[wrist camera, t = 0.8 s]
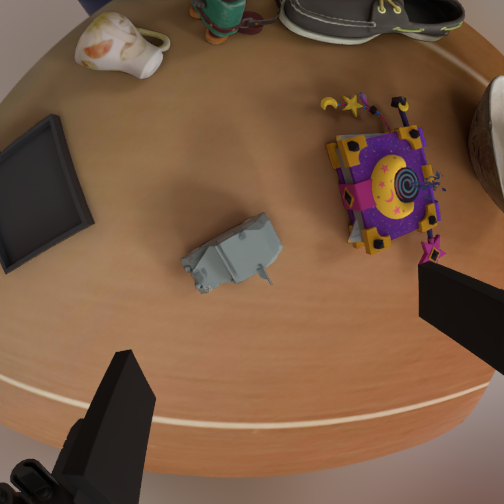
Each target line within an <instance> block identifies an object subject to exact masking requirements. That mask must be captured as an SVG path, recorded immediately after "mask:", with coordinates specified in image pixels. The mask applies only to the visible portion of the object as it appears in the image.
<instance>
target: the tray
mask: <svg viewBox="0 0 504 504" xmlns="http://www.w3.org/2000/svg"><path fill="white" fill-rule="evenodd" d="M93 224H94V220H93V218H92V215H91V213H90V210H89V208H88V205H87V203H86V200H85V197H84V194H83V192H82V189H81V186H80V183H79V180H78V177H77V175H76V172H75V168H74V165H73V162H72V159H71V156H70V153H69V149H68V146H67V143H66V139H65V136H64V132H63V128H62V125H61V121H60V117H59V116H57V115H55V114H50V115H49V116H47V117H46V118H45V119H43V120H42V121H40V122H39V123H37V124H36V125H35V126H33V127H32V128H31V129H29V130H28V131H27V132H25V133H24V134H23V135H21V136H20V137H19V138H17V139H16V140H15V141H14V142H12V143H11V144H10V145H9V146H8V147H6V148H5V149H4V150H3V151H2V152H0V263H1V265H2V268H3V270H4V272H5V274H7V273H9V272H11V271H13V270H15V269H16V268H18V267H19V266H21V265H22V264H24V263H26V262H27V261H29V260H31V259H32V258H34V257H36V256H37V255H39V254H41V253H42V252H44V251H46V250H47V249H49V248H51V247H53V246H54V245H56V244H58V243H60V242H61V241H63V240H65V239H67V238H69V237H70V236H72V235H74V234H76V233H78V232H80V231H81V230H83V229H85V228H87V227H89V226H91V225H93Z"/></svg>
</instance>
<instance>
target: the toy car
mask: <svg viewBox="0 0 504 504" xmlns="http://www.w3.org/2000/svg"><path fill="white" fill-rule="evenodd" d="M282 249H283V247H282V244H281V242H280V240H279V238H278V236H277V234H276V232H275V230H274V228H273V226H272V224H271V222H270V220H269V219H268V217H267V216H266V214H265V213H264V212H263V213H261V214H259V215H257V216H254V217H251V218H249V219H247V220H245V221H244V222H243V223H241V225H239V226H236V227H233V228H231V229H230V230H228V231H226V232H224V233H222V234H221V235H219V236H217V237H215V238H214V239H212V240H210V241H208V242H206V243H205V244H204V246H199V247H197V248H195V249H194V250H192V251H191V252H190V253H189V254H188V255H186V256H184V257H182V258H181V259H180V261H181V262H182V264H183V266H184V269H185V271H186V272H189V273H190V274H191V276H192V278H193V279H194V281H195V287H196V288H197V289H198V290H199V291H200V293H201V294H203V293H208V292H209V291H211V290H213V289H214V288H216V287H217V286H218V285H220V284H221V283H226V282H233V283H236V284H238V283H240V282H242V281H244V280H245V279H247V278H249V277H251V276H253V275H254V274H256V273H258V274H259V275H260V277H261V278H263V279H267V280H268V281H269V283H270V284H271V285H273V284H272V282H271V281H270V279H269V277H268V275H267V273H266V271H265V270H264V269H265V268H266V267H267V266H269V265H270V264H271V263H272V262H274V261H275V260H276V258H277V256H278V254H279V252H280V251H281V250H282Z"/></svg>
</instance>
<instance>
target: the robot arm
mask: <svg viewBox="0 0 504 504" xmlns="http://www.w3.org/2000/svg"><path fill="white" fill-rule="evenodd" d="M418 279H419V317H421V318H422V319H424V320H425V321H427V322H428V323H430V324H431V325H432V326H434V327H435V328H437V329H438V330H440V331H441V332H443V333H444V334H446V335H447V336H449V337H450V338H452V339H453V340H455V341H456V342H457V343H459V344H460V345H462V346H463V347H465V348H466V349H468V350H469V351H470V352H472V353H473V354H475V355H476V356H478V357H479V358H480V359H482V360H483V361H485V362H486V363H487V364H489V365H490V366H492V367H493V368H494V369H496V370H497V371H498V372H500V373H501V374H503V375H504V290H503V289H498V288H496V287H494V286H491V285H489V284H487V283H484V282H482V281H479V280H477V279H475V278H472V277H470V276H467V275H465V274H462V273H460V272H457V271H455V270H452V269H450V268H447V267H445V266H442V265H440V264H437V263H435V262H432V261H427V262H424V263H422V264H419V265H418ZM155 401H156V397H155V395H154V393H153V391H152V390H151V388H150V386H149V384H148V382H147V380H146V378H145V376H144V374H143V372H142V370H141V368H140V366H139V364H138V362H137V360H136V358H135V356H134V354H133V352H132V350H131V349H130V350H125V351H120V352H116V353H115V355H114V357H113V359H112V361H111V363H110V365H109V367H108V369H107V371H106V373H105V375H104V377H103V379H102V381H101V383H100V385H99V387H98V389H97V391H96V394H95V396H94V398H93V400H92V402H91V404H90V407H89V409H88V411H87V413H86V415H85V418H84V419H79V420H78V421H77V422H76V423H75V424H74V425H73V426H72V428H71V429H70V432H69V434H68V436H67V440H65V443H64V445H63V448H62V449H61V452H60V454H59V457H58V459H57V461H56V464H55V466H54V469H53V471H52V473H51V474H50V473H49V472H48V471H47V470H46V469H45V467H44V466H43V465H42V464H41V463H40V462H39V461H37V460H35V459H26V460H23V461H21V462H20V463H18V464H17V465H16V466H15V468H14V469H13V470H12V473H11V476H10V481H11V483H12V484H13V485H14V486H15V487H17V488H18V489H19V490H20V491H21V492H16V491H15V490H14V489H13V488H12V487H11V486H10V485H8V484H6V483H0V504H139V495H140V488H141V481H142V475H143V468H144V462H145V456H146V450H147V444H148V438H149V433H150V427H151V422H152V417H153V412H154V406H155Z"/></svg>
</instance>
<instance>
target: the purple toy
mask: <svg viewBox="0 0 504 504" xmlns="http://www.w3.org/2000/svg"><path fill="white" fill-rule="evenodd" d="M342 98H343V99H344V101H345V102H346V104H340V103H337V102H336V100H334V99H333V98H331V97H326V98H323V99H322V101H321V107H322V108H323V109H324V110H325V108H326V106H327V105H329V104H330V105H333V106H334V107H335V109H336V108H337V106H340V105H346V106H345V107H344V109H343V110H351V112H352V113H353V115H354V116H355V117H357V108H363V109H368V110H369V111H370V112H371V114H372V115H374V114H375V113H376V114H377V115H379V116H380V117H381V118H382V119H383V120H384V122H385V124H386V125H387V127H388V130H389V131H386V132H382V133H380V134H354V135H337V136H336V140H337V142H334V143H330V144H327V145H326V148H327V151H328V154H329V157H330V161H331V164H332V167H333V169H335V168H337V172H338V175H339V178H340V182H341V183H340V184H338V185H339V189H340V192H341V196H342V199H343V203H344V207H345V208H347V209H348V212H349V216H350V220H351V225H349V230H350V236H349V239H348V242H347V243H351V242H353V247H355V248H360V247H362V246H365V249H366V253H368V254H370V255H373V254H375V253H378V252H380V251H382V250H385V249H387V248H389V247H391V246H392V244H391V240H393V239H395V238H398V237H400V236H402V235H404V234H407V233H409V232H412V231H414V230H416V229H417V231H419V232H425V231H427V234H428V238H427V240H428V243H424V242H421V244H422V247H423V250H424V254H423V256H422V258H421V260H420V262H419V264H422V263H424V262H427V261H432V262H435V263H437V262H438V259H439V258H440V257H442V256H443V255H445V254H446V253H445V252H444V251H442V250H441V249H440V235H438V234H437V235H436V236H435V237H433V235H432V228H434V227H436V226H438V223H437V221H440V220H441V218H440V211H439V205H438V201H437V200H436V199H435V200H434V194H433V190H435V189H432V188H436V187H435V186H434V185H435V184H438V185H439V183H438V182H436V183H435V182H434V180H436V179H439V178H440V175H439V174H440V173H438V172H436V176H438V177H437V178H436V177H434V176H433V172H432V168H431V164H427V161H426V157H425V153H424V149H423V147H425V146H426V142H425V138H424V135H423V131H422V128H421V127H419V128H417V125H414V126H409V124H408V120H407V117H406V114H405V111H407V110H408V108H409V105H408V103H407V102H406V98H404V97H402V96H400V97H394V98H392V103H391V106H393V107H395V108H398V110H399V113H400V116H401V119H402V122H403V125H404V127H403V128H398V129H394V130H391V131H390V128H389V126H388V124H387V123H386V121H385V119H384V118H383V117H382V116H381V115H380V113H379V112H376V110H377V109H376V108H375V107H374V106H372V107H370V106H368V105H367V104H366V96H365V95H364V94H363V93H362V92H361V93H360V99H361V101H362V103H363V104H365V105H366V106H367V107H369V108H370V109H369V108H367V107H365V106H362V105H360V104H358V103H356V94H355V95H354V96H353V97H352V99H349V98H347V97H345V96H342ZM405 104H406V105H405ZM343 110H342V111H343ZM442 176H443V175H442ZM434 178H435V179H434ZM442 189H443V191H446V189H445V188H442ZM419 264H418V265H419Z"/></svg>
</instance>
